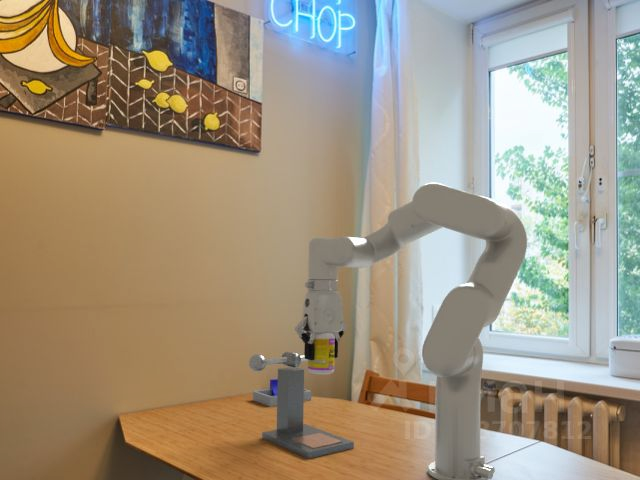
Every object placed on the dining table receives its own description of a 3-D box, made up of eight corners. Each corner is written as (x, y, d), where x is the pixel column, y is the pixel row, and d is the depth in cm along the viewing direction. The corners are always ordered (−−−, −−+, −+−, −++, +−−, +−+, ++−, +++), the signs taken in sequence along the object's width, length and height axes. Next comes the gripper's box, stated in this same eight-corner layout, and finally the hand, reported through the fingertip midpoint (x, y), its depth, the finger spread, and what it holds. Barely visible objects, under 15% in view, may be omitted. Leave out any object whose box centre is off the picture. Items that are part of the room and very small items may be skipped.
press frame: (353, 448, 140) (354, 376, 141) (308, 458, 132) (309, 382, 133) (305, 429, 156) (306, 365, 157) (262, 438, 147) (263, 370, 148)
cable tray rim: (311, 399, 192) (311, 391, 192) (270, 406, 182) (270, 397, 182) (293, 394, 200) (293, 385, 201) (252, 400, 190) (252, 391, 190)
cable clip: (295, 402, 187) (295, 384, 187) (282, 404, 185) (282, 385, 185) (282, 396, 197) (282, 378, 198) (269, 397, 195) (270, 379, 196)
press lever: (330, 365, 156) (330, 348, 156) (254, 373, 141) (254, 356, 141) (320, 362, 160) (320, 347, 160) (245, 371, 144) (245, 353, 145)
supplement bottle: (331, 375, 138) (332, 322, 139) (304, 374, 139) (306, 321, 140) (336, 371, 145) (337, 320, 145) (311, 369, 146) (312, 319, 147)
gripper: (303, 287, 135) (301, 363, 134) (358, 287, 145) (357, 357, 144) (286, 286, 141) (284, 358, 140) (339, 286, 151) (338, 353, 150)
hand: (321, 357), depth 142 cm, fingers closed on supplement bottle, 6 cm apart
